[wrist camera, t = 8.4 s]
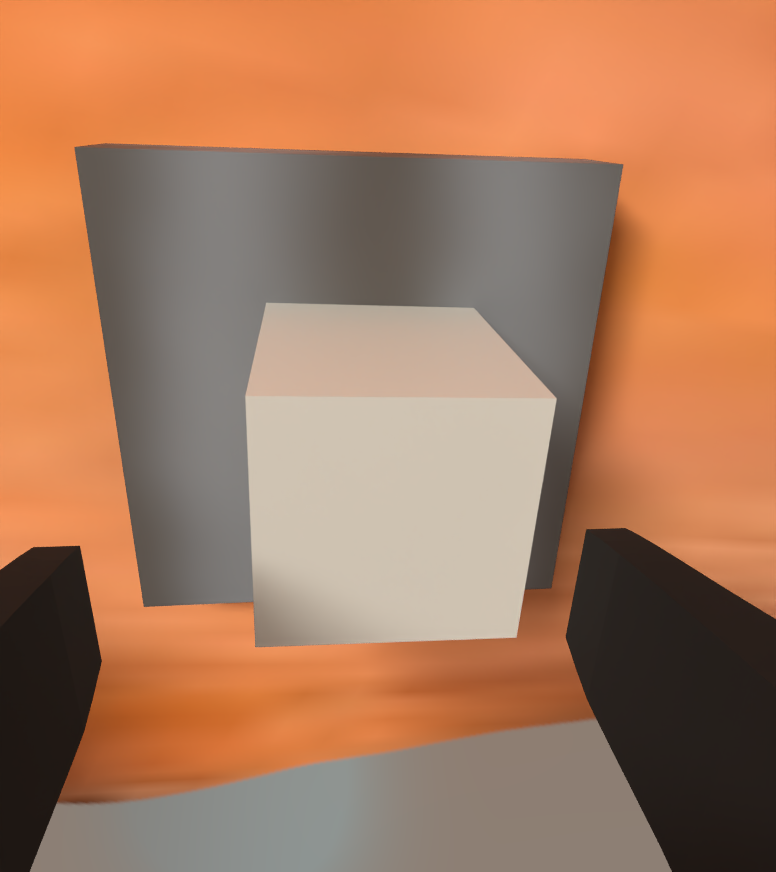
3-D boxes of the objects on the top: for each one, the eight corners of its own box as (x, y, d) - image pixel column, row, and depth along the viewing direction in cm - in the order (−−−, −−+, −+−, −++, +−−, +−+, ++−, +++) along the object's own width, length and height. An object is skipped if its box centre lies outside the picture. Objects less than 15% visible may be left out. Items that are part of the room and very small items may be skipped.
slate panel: (163, 546, 22) (144, 606, 19) (111, 142, 17) (74, 147, 14) (522, 533, 23) (551, 588, 20) (575, 157, 18) (623, 164, 15)
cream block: (270, 488, 18) (255, 647, 12) (266, 302, 16) (244, 396, 10) (454, 487, 18) (515, 637, 13) (473, 307, 16) (556, 398, 11)
